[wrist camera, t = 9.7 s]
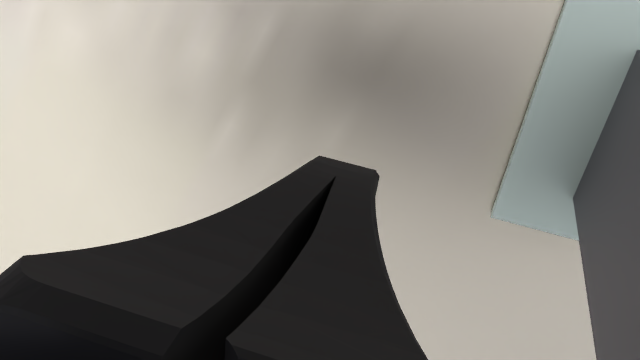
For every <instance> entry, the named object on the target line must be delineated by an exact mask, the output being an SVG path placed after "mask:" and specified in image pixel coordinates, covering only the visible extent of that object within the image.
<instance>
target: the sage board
mask: <svg viewBox="0 0 640 360" xmlns="http://www.w3.org/2000/svg"><path fill="white" fill-rule="evenodd" d="M637 50H640V0H565V2H564V5H563V8H562V11H561V14H560V16H559V19H558V22H557V25H556V28H555V31H554V34H553V37H552V39H551V42H550V45H549V48H548V51H547V54H546V57H545V59H544V62H543V65H542V68H541V71H540V74H539V77H538V79H537V82H536V85H535V88H534V91H533V94H532V97H531V99H530V102H529V105H528V108H527V111H526V114H525V117H524V120H523V122H522V125H521V128H520V131H519V134H518V137H517V140H516V142H515V145H514V148H513V151H512V154H511V157H510V160H509V162H508V165H507V168H506V171H505V174H504V177H503V180H502V183H501V185H500V188H499V191H498V194H497V197H496V200H495V203H494V205H493V208H492V211H491V218H495V219H499V220H502V221H506V222H510V223H514V224H518V225H521V226H525V227H529V228H533V229H536V230H540V231H544V232H548V233H552V234H555V235H559V236H563V237H567V238H570V239H574V240H578V241H579V237H578V230H577V223H576V217H575V210H574V203H573V196H574V194H575V192H576V190H577V187H578V185H579V183H580V180H581V178H582V176H583V173H584V171H585V169H586V167H587V164H588V162H589V160H590V157H591V155H592V153H593V150H594V148H595V146H596V143H597V141H598V139H599V137H600V134H601V132H602V130H603V127H604V125H605V123H606V120H607V118H608V116H609V114H610V111H611V109H612V107H613V104H614V102H615V100H616V97H617V95H618V93H619V91H620V88H621V86H622V84H623V81H624V79H625V77H626V74H627V72H628V70H629V67H630V65H631V63H632V61H633V58H634V56H635V54H636V51H637Z"/></svg>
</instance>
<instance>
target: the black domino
mask: <svg viewBox="0 0 640 360" xmlns="http://www.w3.org/2000/svg"><path fill="white" fill-rule="evenodd" d="M573 203H574V210H575V217H576V223H577V230H578V237H579V244H580V250H581V257H582V264H583V271H584V277H585V284H586V291H587V298H588V304H589V311H590V318H591V325H592V331H593V338H594V345H595V352H596V358H597V360H640V50H637V51H636V54H635V56H634V58H633V61H632V63H631V65H630V67H629V70H628V72H627V74H626V77H625V79H624V81H623V84H622V86H621V88H620V91H619V93H618V95H617V97H616V100H615V102H614V104H613V107H612V109H611V111H610V114H609V116H608V118H607V120H606V123H605V125H604V127H603V130H602V132H601V134H600V137H599V139H598V141H597V143H596V146H595V148H594V150H593V153H592V155H591V157H590V160H589V162H588V164H587V167H586V169H585V171H584V173H583V176H582V178H581V180H580V183H579V185H578V187H577V190H576V192H575V194H574V196H573Z"/></svg>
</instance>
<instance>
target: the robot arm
mask: <svg viewBox="0 0 640 360" xmlns="http://www.w3.org/2000/svg"><path fill="white" fill-rule="evenodd" d="M379 177H380V176H379V175H378V173H377V172H376V170H373V169H369V168H365V167H361V166H357V165H353V164H349V163H345V162H342V161H338V160H334V159H330V158H326V157H322V156H318V157H316V158H315V159H313V160H311V161H310V162H308V163H306V164H305V165H303V166H302V167H300V168H299V169H297V170H295V171H294V172H292V173H291V174H289V175H288V176H286V177H284V178H283V179H281V180H279V181H278V182H276V183H274V184H273V185H271V186H269V187H268V188H266V189H264V190H262V191H261V192H259V193H257V194H255V195H253V196H251V197H249V198H248V199H246V200H244V201H242V202H240V203H238V204H236V205H234V206H232V207H230V208H228V209H225V210H223V211H221V212H218V213H216V214H214V215H211V216H209V217H206V218H203V219H201V220H198V221H195V222H193V223H190V224H187V225H184V226H181V227H177V228H174V229H171V230H167V231H164V232H160V233H157V234H153V235H150V236H146V237H143V238H139V239H134V240H130V241H125V242H121V243H116V244H110V245H105V246H99V247H94V248H87V249H81V250H72V251H64V252H55V253H47V254H38V255H26V256H23V257H21V258H20V259H19V260H17V261H16V262H15V263H14V264H12V265H11V266H10V267H9V268H8V269H6V270H5V271H4V272H3V273H2V274H0V360H428V359H427V357H426V355H425V354H424V352H423V350H422V349H421V347H420V345H419V343H418V342H417V340H416V338H415V336H414V334H413V332H412V330H411V328H410V326H409V324H408V322H407V320H406V318H405V316H404V314H403V312H402V310H401V308H400V305H399V303H398V300H397V298H396V295H395V293H394V290H393V288H392V285H391V282H390V279H389V276H388V273H387V269H386V266H385V262H384V258H383V254H382V250H381V245H380V240H379V235H378V228H377V219H376V209H375V195H376V191H377V186H378V181H379Z"/></svg>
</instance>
